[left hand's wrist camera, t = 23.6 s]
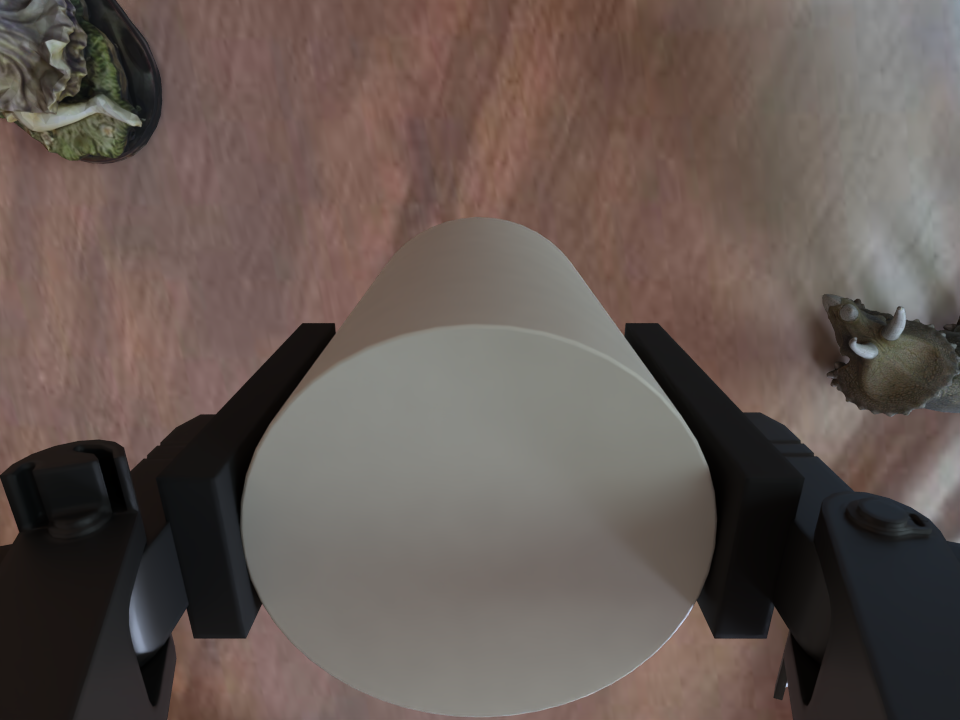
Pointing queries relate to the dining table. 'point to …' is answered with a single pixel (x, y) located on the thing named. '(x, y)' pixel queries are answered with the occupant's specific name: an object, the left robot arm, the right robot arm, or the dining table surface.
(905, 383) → the toy dinosaur
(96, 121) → the figurine
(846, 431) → the dining table surface
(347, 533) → the can
